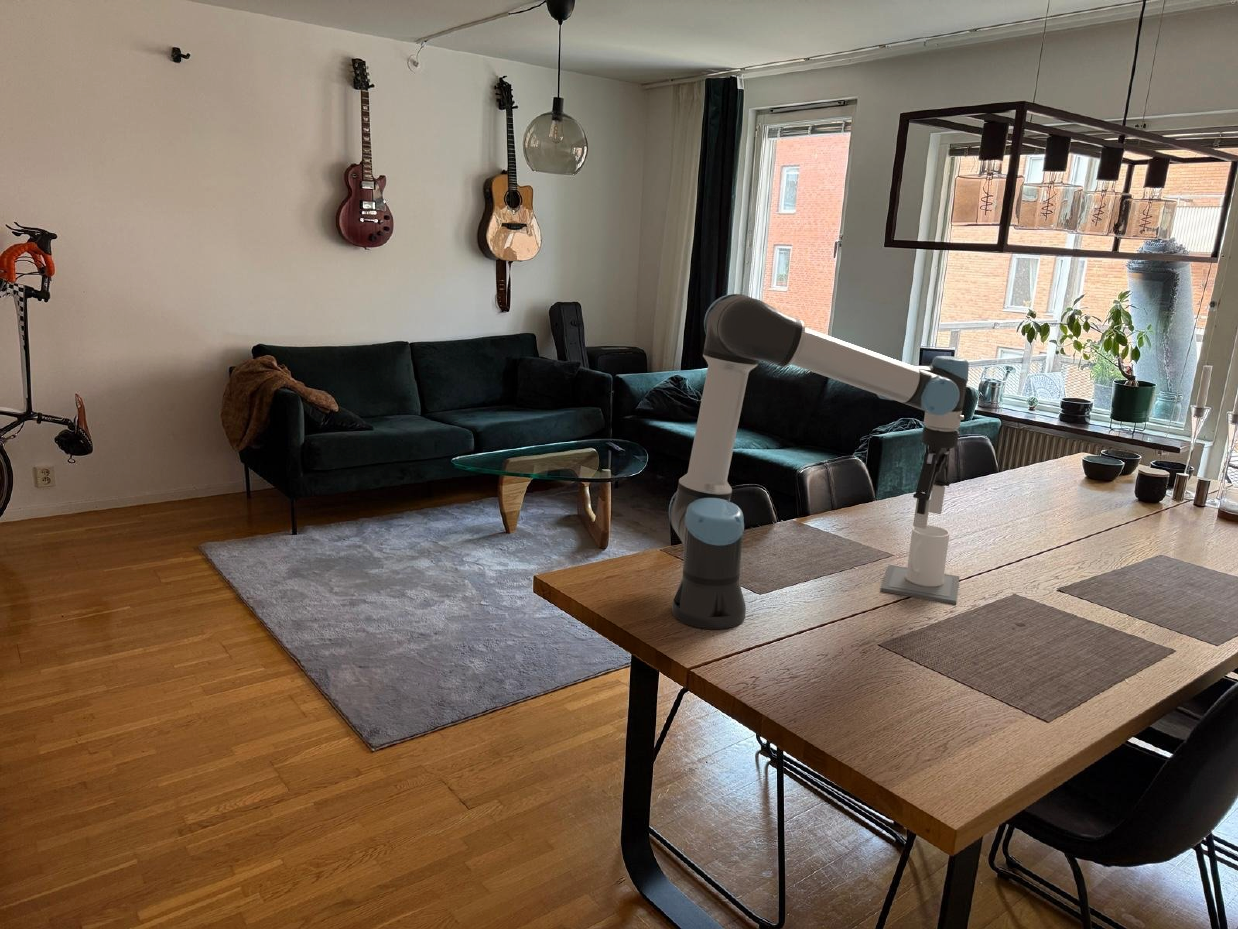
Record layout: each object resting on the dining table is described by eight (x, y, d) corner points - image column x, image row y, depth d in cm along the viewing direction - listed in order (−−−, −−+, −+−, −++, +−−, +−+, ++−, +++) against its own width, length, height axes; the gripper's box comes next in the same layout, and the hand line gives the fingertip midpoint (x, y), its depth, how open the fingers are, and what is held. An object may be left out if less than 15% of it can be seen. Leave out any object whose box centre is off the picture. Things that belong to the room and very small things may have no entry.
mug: (921, 593, 196) (928, 542, 193) (889, 580, 202) (895, 531, 199) (951, 581, 203) (958, 532, 200) (918, 570, 210) (925, 522, 207)
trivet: (956, 604, 193) (956, 600, 193) (880, 591, 199) (880, 587, 199) (959, 579, 207) (959, 576, 207) (888, 567, 213) (888, 564, 213)
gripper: (945, 439, 181) (930, 537, 187) (971, 422, 202) (957, 510, 207) (908, 433, 185) (895, 529, 191) (937, 417, 206) (924, 504, 211)
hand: (927, 520), depth 199 cm, fingers open, 13 cm apart
